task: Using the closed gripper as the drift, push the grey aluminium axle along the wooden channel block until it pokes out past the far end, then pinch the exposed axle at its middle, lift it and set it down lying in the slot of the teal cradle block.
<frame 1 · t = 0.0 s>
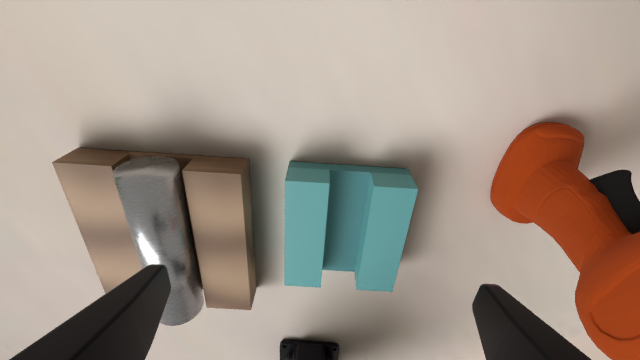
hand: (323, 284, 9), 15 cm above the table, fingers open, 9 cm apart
toy drill: (558, 111, 21), on the table
wooden channel block: (179, 227, 27), on the table
v block: (342, 218, 26), on the table
axle: (165, 246, 24), point 2 cm above the table, touching wooden channel block
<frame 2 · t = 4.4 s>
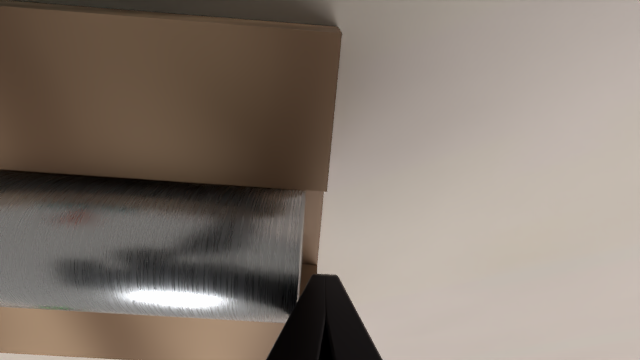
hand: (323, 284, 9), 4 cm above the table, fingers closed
wooden channel block: (139, 198, 12), on the table
axle: (76, 240, 10), point 2 cm above the table, touching wooden channel block, gripper
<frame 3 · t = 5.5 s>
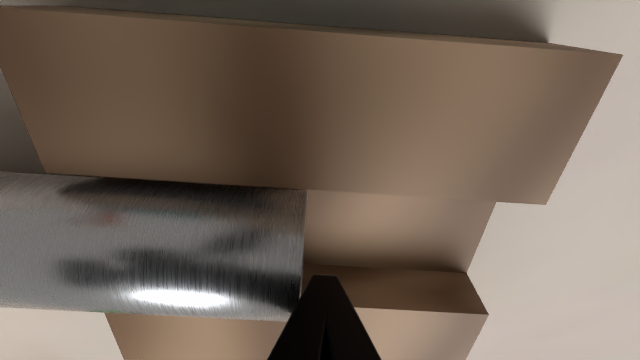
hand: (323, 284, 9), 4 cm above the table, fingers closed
wooden channel block: (302, 208, 12), on the table
axle: (79, 240, 10), point 3 cm above the table, touching gripper
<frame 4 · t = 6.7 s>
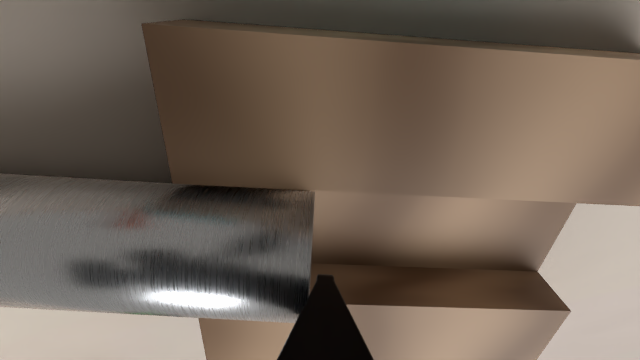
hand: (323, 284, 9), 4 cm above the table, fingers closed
wooden channel block: (386, 212, 12), on the table
axle: (90, 242, 10), point 2 cm above the table, touching wooden channel block, gripper
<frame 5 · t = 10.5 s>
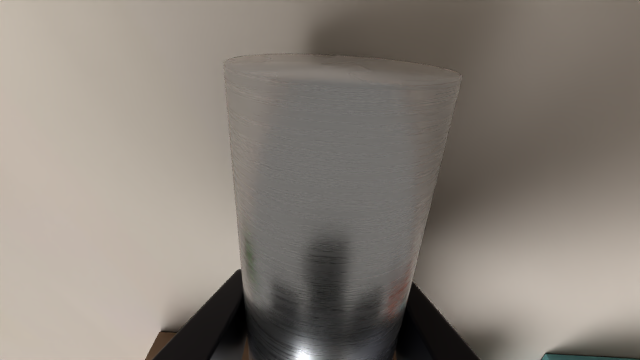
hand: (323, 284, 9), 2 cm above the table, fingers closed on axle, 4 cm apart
axle: (321, 330, 9), point 2 cm above the table, touching wooden channel block, gripper
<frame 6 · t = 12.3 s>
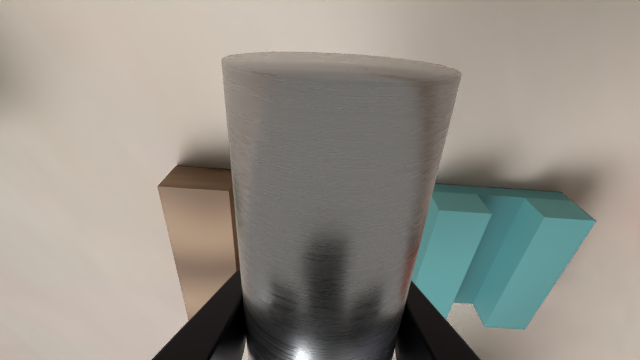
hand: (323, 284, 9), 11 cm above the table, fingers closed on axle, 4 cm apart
wooden channel block: (277, 253, 23), on the table
v block: (468, 245, 22), on the table
axle: (320, 329, 9), point 12 cm above the table, touching gripper
when the fingers open (5 cm above the table, at t = 14.5 s): axle drops 2 cm, resting on v block.
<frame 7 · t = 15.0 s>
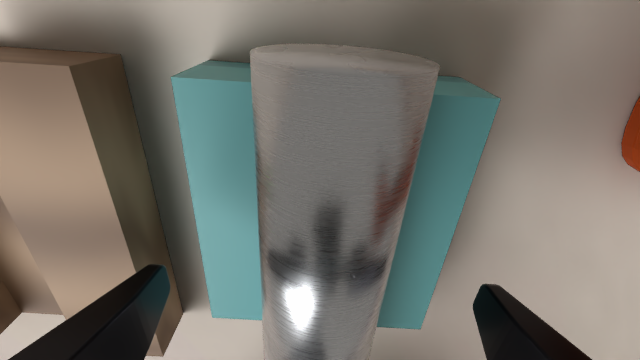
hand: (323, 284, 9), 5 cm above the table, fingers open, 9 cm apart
wooden channel block: (20, 206, 14), on the table
v block: (325, 188, 13), on the table
axle: (322, 281, 10), point 4 cm above the table, touching v block
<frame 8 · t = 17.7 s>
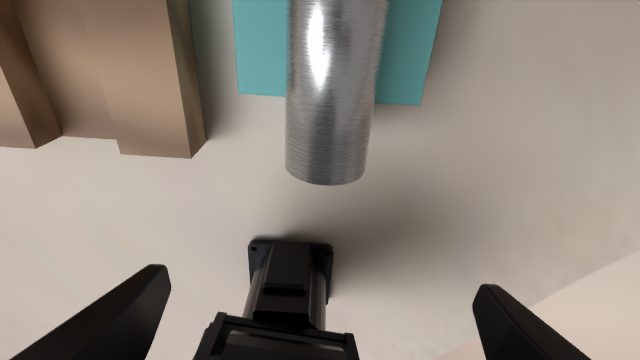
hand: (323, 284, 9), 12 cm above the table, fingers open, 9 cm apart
wooden channel block: (68, 10, 16), on the table
axle: (337, 7, 12), point 4 cm above the table, touching v block
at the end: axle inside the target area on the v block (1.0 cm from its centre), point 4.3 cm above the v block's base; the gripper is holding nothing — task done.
